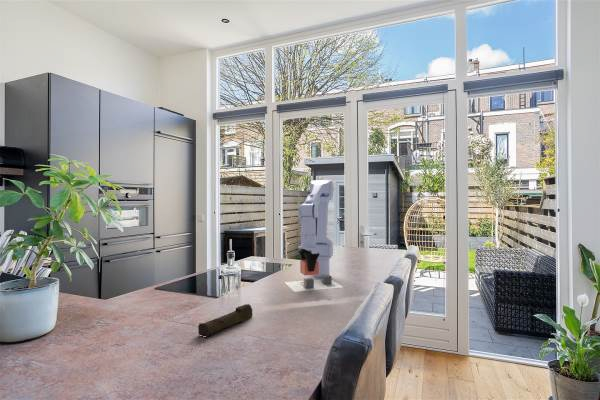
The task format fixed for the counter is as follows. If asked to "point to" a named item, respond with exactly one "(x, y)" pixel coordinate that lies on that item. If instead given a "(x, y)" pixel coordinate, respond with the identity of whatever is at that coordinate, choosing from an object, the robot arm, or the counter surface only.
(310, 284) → the block
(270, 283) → the counter surface
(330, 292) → the counter surface
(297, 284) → the breaker panel
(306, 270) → the coral red cube
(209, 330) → the hand tool
